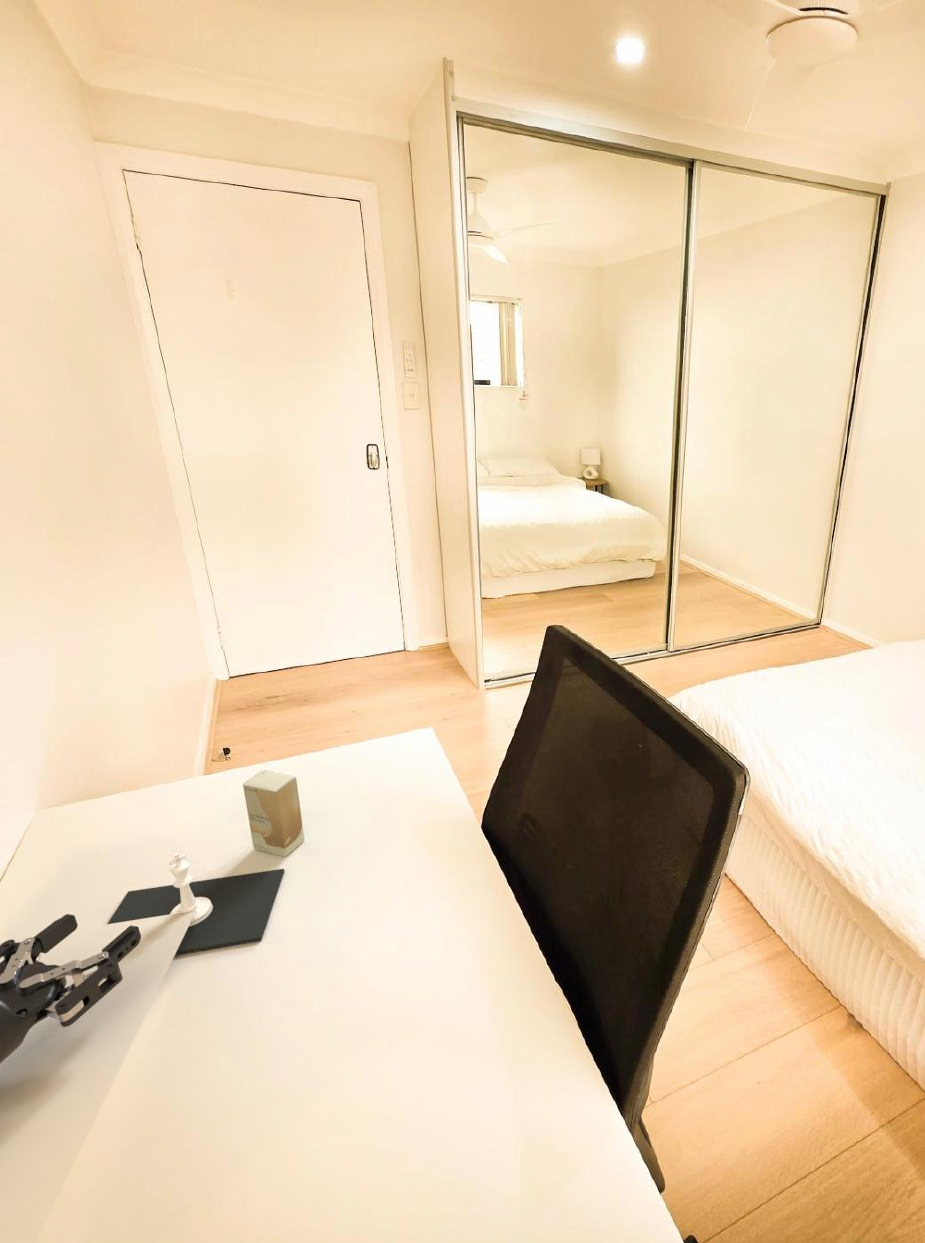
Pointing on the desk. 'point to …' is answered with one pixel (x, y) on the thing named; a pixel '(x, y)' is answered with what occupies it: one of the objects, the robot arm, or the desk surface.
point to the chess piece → (188, 892)
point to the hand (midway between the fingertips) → (105, 925)
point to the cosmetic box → (274, 812)
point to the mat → (233, 915)
